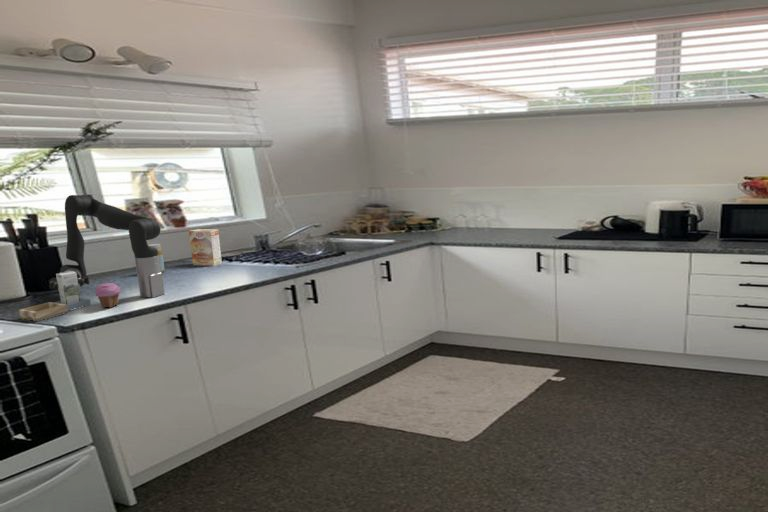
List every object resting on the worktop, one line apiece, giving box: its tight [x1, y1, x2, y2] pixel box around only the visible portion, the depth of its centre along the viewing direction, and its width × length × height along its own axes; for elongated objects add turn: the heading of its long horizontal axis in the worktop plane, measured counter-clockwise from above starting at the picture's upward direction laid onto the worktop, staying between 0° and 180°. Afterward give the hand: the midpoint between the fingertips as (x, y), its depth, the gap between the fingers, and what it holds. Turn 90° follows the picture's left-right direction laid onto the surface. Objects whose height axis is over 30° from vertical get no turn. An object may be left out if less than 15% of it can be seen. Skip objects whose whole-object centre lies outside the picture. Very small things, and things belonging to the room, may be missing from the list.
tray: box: [17, 301, 69, 322], centre depth 201 cm, size 12×12×4 cm
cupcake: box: [95, 282, 121, 308], centre depth 210 cm, size 9×9×10 cm
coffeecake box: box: [188, 228, 223, 267], centre depth 291 cm, size 15×7×20 cm, turn 68°
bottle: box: [148, 243, 166, 274], centre depth 274 cm, size 7×7×15 cm
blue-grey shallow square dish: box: [53, 297, 91, 311], centre depth 213 cm, size 10×10×2 cm
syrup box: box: [55, 271, 81, 305], centre depth 212 cm, size 6×6×14 cm
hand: (68, 285), depth 214 cm, fingers open, 8 cm apart
